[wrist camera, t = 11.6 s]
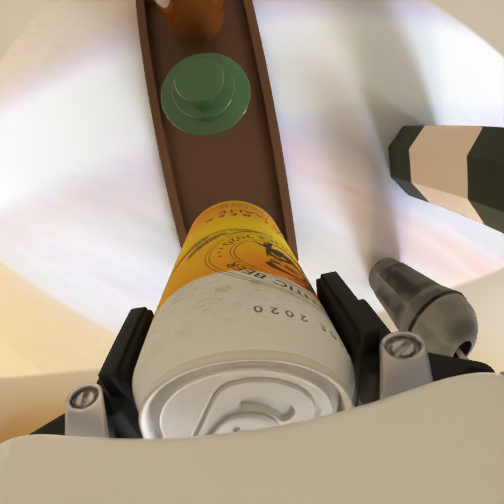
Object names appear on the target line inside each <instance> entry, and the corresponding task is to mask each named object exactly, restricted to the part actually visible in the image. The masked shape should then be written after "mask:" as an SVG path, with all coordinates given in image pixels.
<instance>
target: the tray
mask: <svg viewBox="0 0 504 504" xmlns="http://www.w3.org/2000/svg"><path fill="white" fill-rule="evenodd" d="M136 9H137V18H138V27H139V35H140V43H141V50H142V57H143V64H144V71H145V77H146V84H147V90H148V96H149V102H150V108H151V113H152V119H153V124H154V129H155V135H156V140H157V145H158V150H159V155H160V160H161V164H162V169H163V174H164V178H165V183H166V187H167V192H168V196H169V200H170V205H171V209H172V213H173V217H174V221H175V225H176V229H177V233H178V237H179V241H180V245H181V249H182V247H183V244H184V242H185V240H186V237H187V235H188V233H189V231H190V228H191V226H192V224H193V223H194V221H195V220H196V219H197V217H198V216H199V215H200V214H201V213H202V212H203V211H205V210H206V209H208V208H209V207H211V206H213V205H215V204H218V203H221V202H225V201H244V202H248V203H251V204H254V205H256V206H258V207H260V208H261V209H263V210H264V211H265V212H267V213H268V214H269V215H270V216H271V218H272V219H273V220H274V222H275V223H276V225H277V227H278V228H279V230H280V232H281V234H282V235H283V237H284V239H285V241H286V242H287V244H288V246H289V247H290V249H291V251H292V253H293V254H294V256H295V258H296V260H297V261H298V253H297V245H296V238H295V231H294V224H293V217H292V210H291V203H290V196H289V190H288V183H287V177H286V171H285V165H284V158H283V152H282V147H281V141H280V135H279V129H278V124H277V118H276V113H275V107H274V102H273V97H272V91H271V86H270V81H269V76H268V71H267V66H266V61H265V56H264V52H263V47H262V42H261V38H260V33H259V29H258V24H257V20H256V15H255V11H254V7H253V2H252V0H225V23H224V26H223V28H222V29H221V31H220V32H219V33H218V34H217V35H216V36H214V37H213V38H211V39H209V40H207V41H204V42H200V43H187V42H183V41H181V40H179V39H177V38H176V37H174V36H173V34H172V33H171V31H170V30H169V28H168V26H167V24H166V22H165V20H164V18H163V17H162V15H161V13H160V11H159V9H158V7H157V6H156V4H155V2H154V0H136ZM199 53H216V54H221V55H224V56H226V57H228V58H230V59H232V60H233V61H235V62H236V63H237V64H238V65H239V66H240V67H241V68H242V69H243V70H244V72H245V74H246V76H247V78H248V80H249V84H250V100H249V104H248V107H247V109H246V111H245V113H244V116H243V118H242V120H241V122H240V124H239V126H238V127H237V128H236V130H234V131H233V132H232V133H231V134H230V135H228V136H226V137H223V138H220V139H205V138H201V137H198V136H195V135H192V134H189V133H186V132H184V131H182V130H180V129H178V128H177V127H176V126H174V125H173V124H172V123H171V122H170V120H169V119H168V118H167V116H166V114H165V113H164V110H163V107H162V103H161V90H162V86H163V83H164V80H165V78H166V76H167V75H168V73H169V72H170V70H171V69H172V68H173V67H174V66H175V65H176V64H177V63H179V62H180V61H182V60H183V59H185V58H187V57H189V56H192V55H195V54H199Z"/></svg>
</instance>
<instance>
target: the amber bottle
mask: <svg viewBox="0 0 504 504" xmlns="http://www.w3.org/2000/svg"><path fill="white" fill-rule="evenodd" d="M154 2H155V4H156V6H157V7H158V9H159V11H160V13H161V15H162V17H163V18H164V20H165V22H166V24H167V26H168V28H169V30H170V31H171V33H172V34H173V36H174V37H176V38H177V39H179V40H181V41H183V42H187V43H200V42H204V41H207V40H209V39H211V38H213V37H214V36H216V35H217V34H218V33H219V32H220V31H221V29H222V28H223V26H224V23H225V0H154Z"/></svg>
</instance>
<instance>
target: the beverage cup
mask: <svg viewBox="0 0 504 504" xmlns="http://www.w3.org/2000/svg"><path fill="white" fill-rule="evenodd" d="M369 282H370V286H371V288H372V289H373V291H374V293H375V295H376V297H377V298H378V300H379V301H380V303H381V304H382V306H383V307H384V309H385V310H386V312H387V313H388V315H389V316H390V318H391V319H392V321H393V322H394V324H395V326H396V327H397V329H398V330H399V331H409V332H413V333H416V334H418V335H419V336H421V337H422V338H423V339H424V341H425V343H426V347H427V351H428V352H430V353H435V354H440V355H445V356H450V357H456V358H461V359H466V360H469V359H468V358H467V356H468V355H469V354H470V352H471V351H472V349H473V347H474V345H475V342H476V339H477V333H478V323H477V318H476V314H475V311H474V309H473V308H472V306H471V305H470V304H469V302H468V301H467V300H466V298H465V297H464V295H463V294H462V293H460V292H458V291H455V290H452V289H449V288H447V287H444V286H441V285H440V284H438V283H436V282H435V281H433V280H431V279H430V278H428V277H426V276H424V275H423V274H421V273H419V272H418V271H416V270H414V269H412V268H411V267H409V266H407V265H405V264H404V263H401V262H399V261H397V260H395V259H392V258H386V259H383V260H381V261H380V262H378V263H377V264H376V265H375V266H374V267H373V269H372V271H371V273H370V277H369Z"/></svg>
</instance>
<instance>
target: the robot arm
mask: <svg viewBox="0 0 504 504" xmlns="http://www.w3.org/2000/svg"><path fill="white" fill-rule="evenodd" d="M316 286H317V297H318V299H319V300H320V302H321V304H322V306H323V308H324V310H325V311H326V313H327V315H328V317H329V319H330V320H331V322H332V324H333V326H334V328H335V330H336V331H337V333H338V335H339V337H340V339H341V341H342V343H343V344H344V346H345V348H346V350H347V352H348V354H349V356H350V358H351V360H352V363H353V366H354V372H355V387H354V393H353V399H352V401H353V405H354V408H351V409H347V410H344V411H340V412H336V413H332V414H328V415H324V416H320V417H316V418H312V419H307V420H303V421H298V422H293V423H288V424H283V425H277V426H272V427H266V428H260V429H254V430H247V431H240V432H232V433H224V434H214V435H204V436H191V437H175V438H143V436H142V434H141V431H140V427H139V413H138V410H137V407H136V404H135V401H134V397H133V391H132V378H133V374H134V370H135V367H136V364H137V361H138V358H139V355H140V352H141V350H142V347H143V344H144V342H145V339H146V336H147V333H148V331H149V328H150V326H151V323H152V320H153V318H154V315H153V312H152V311H151V310H148V309H147V308H146V307H141V308H135V309H131V310H130V312H129V314H128V316H127V318H126V320H125V322H124V324H123V326H122V328H121V330H120V332H119V334H118V336H117V338H116V340H115V342H114V344H113V346H112V348H111V350H110V352H109V354H108V356H107V358H106V360H105V362H104V364H103V366H102V368H101V371H100V373H99V375H98V376H99V379H98V381H97V384H96V383H86V384H82V385H80V386H78V387H76V388H75V389H73V390H72V391H71V392H70V393H69V395H68V397H67V399H66V405H65V413H64V414H63V415H61V416H59V417H58V418H56V419H54V420H53V421H51V422H49V423H48V424H46V425H44V426H43V427H41V428H40V429H38V430H36V431H34V432H32V433H31V434H29V435H25V436H20V437H16V438H13V439H9V440H7V441H5V442H3V443H2V444H0V504H504V372H501V373H500V374H497V373H495V372H494V370H493V369H492V368H491V367H490V366H488V365H487V364H485V363H481V362H478V361H472V360H466V359H461V358H456V357H450V356H445V355H440V354H435V353H430V352H428V351H427V347H426V343H425V341H424V339H423V338H422V337H421V336H419V335H418V334H416V333H413V332H409V331H398V332H393V333H391V332H390V331H389V329H388V328H387V327H386V325H385V324H384V323H383V322H382V321H381V319H380V318H379V317H378V315H377V314H376V313H375V311H374V310H373V309H372V308H371V306H370V305H369V304H368V303H367V302H366V301H365V300H364V299H361V300H358V299H357V298H356V296H355V295H354V294H353V293H352V291H351V290H350V289H349V287H348V286H347V285H346V284H345V282H344V281H343V280H342V279H341V277H340V276H339V275H338V274H337V272H336V271H335V272H330V273H325V274H321V278H320V279H317V280H316Z"/></svg>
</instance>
